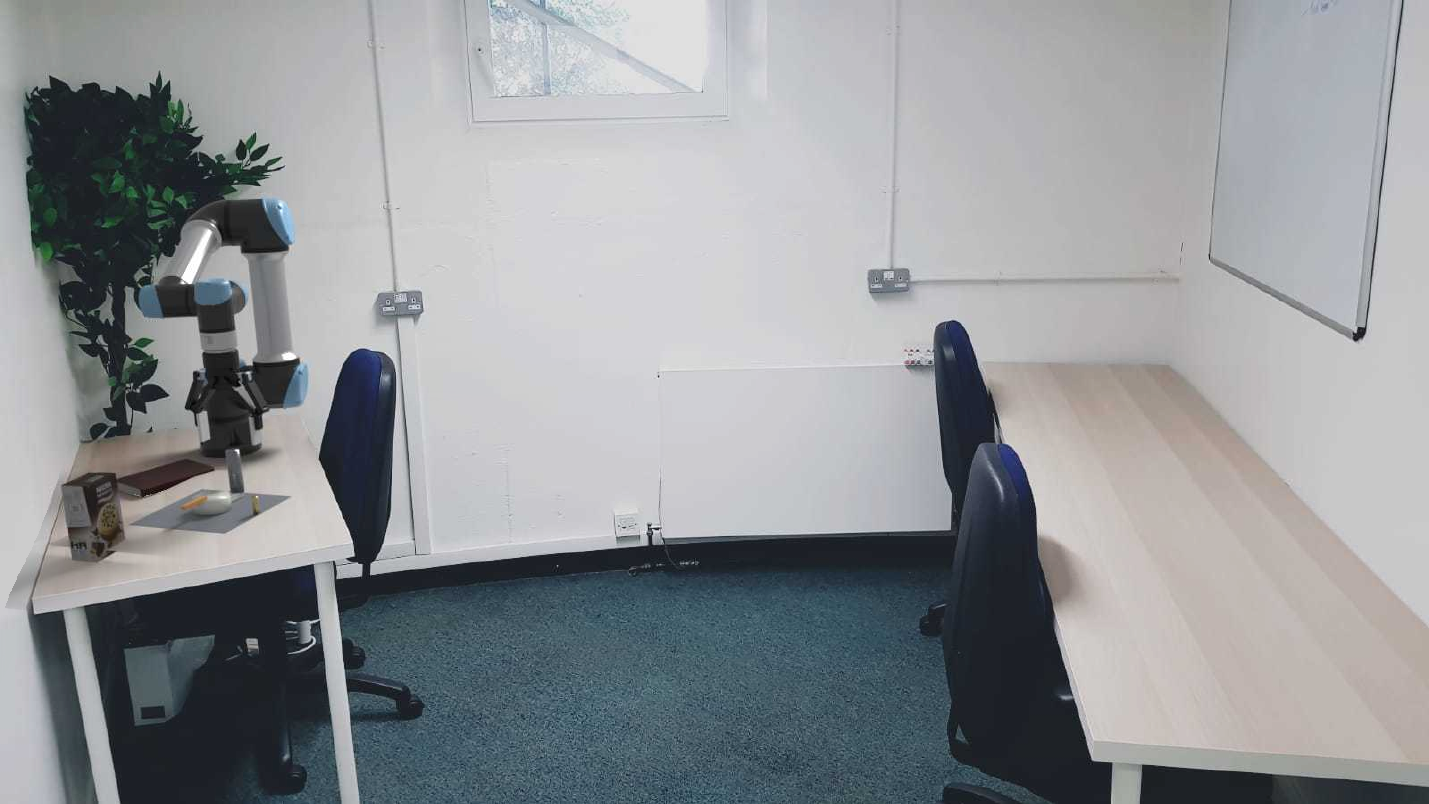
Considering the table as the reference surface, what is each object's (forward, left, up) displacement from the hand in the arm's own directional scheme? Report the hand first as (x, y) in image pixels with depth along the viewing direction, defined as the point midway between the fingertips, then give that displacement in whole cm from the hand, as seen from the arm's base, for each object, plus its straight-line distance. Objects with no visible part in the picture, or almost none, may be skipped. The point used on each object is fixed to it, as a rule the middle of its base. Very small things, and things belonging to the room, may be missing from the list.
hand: (230, 442), depth 272 cm
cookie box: (+33, -9, -15) cm, 37 cm away
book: (-9, -27, -15) cm, 33 cm away
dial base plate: (+9, 0, -15) cm, 17 cm away
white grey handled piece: (+9, 0, -13) cm, 16 cm away
